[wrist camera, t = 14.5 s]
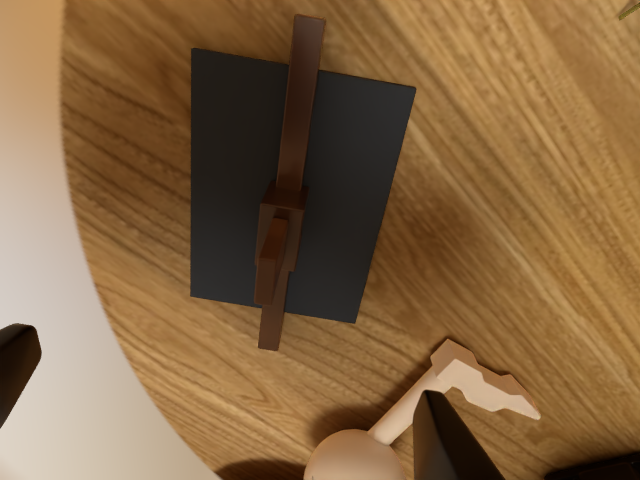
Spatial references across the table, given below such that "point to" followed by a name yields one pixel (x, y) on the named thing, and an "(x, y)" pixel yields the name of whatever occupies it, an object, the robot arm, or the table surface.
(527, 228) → the table surface
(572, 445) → the table surface
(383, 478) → the figurine
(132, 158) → the table surface
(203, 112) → the mat
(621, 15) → the flower
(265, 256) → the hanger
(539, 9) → the table surface
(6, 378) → the robot arm
